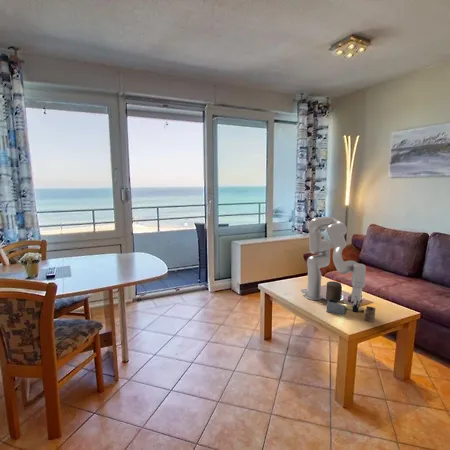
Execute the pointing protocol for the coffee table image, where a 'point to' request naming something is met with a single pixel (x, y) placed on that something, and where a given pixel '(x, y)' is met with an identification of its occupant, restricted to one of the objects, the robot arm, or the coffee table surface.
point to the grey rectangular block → (336, 307)
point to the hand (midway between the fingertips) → (356, 310)
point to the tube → (350, 307)
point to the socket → (369, 314)
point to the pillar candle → (333, 290)
